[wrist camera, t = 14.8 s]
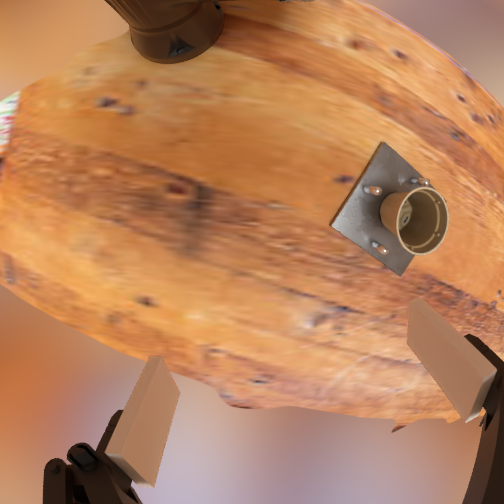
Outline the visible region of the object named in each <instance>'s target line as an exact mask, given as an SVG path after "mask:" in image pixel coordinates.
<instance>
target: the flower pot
mask: <svg viewBox="0 0 504 504" xmlns="http://www.w3.org/2000/svg"><path fill="white" fill-rule="evenodd" d="M405 201H406V202H405ZM404 202H405V203H404ZM380 215H381V221H382V223H383V225H384V226H385V227H386V228H387V229H388V230H390V231H391V232H392V233H393V234H394V235H396V236H397V237H398V239H399V241H400V243H401V245H402V246H403V247H404V249H406V250H407V251H408V252H410V253H411V254H414V255H419V256H421V255H427V254H429V253H431V252H433V251H434V250H436V249H437V248H438V247H439V246H440V244H441V243H442V242H443V240H444V238H445V236H446V233H447V229H448V224H449V212H448V208H447V204H446V202H445V200H444V198H443V197H442V195H441V194H440V193H439V192H438V191H436V190H435V189H433V188H430V187H418V188H416V189H413V190H412V191H410V192H402V193H392V194H390V195H388V196H387V197H386V198H385V199H384V201H383V202H382V205H381V208H380ZM406 217H408V218H407V220H406V222H405V223H404V221H405V219H406Z"/></svg>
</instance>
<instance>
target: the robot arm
mask: <svg viewBox="0 0 504 504" xmlns="http://www.w3.org/2000/svg"><path fill="white" fill-rule="evenodd" d="M105 1H106V2H107V3H108V4H109V5H110V6H111V7H112V8H113V9H114V10H115V11H116V12H117V13H118V14H119V15H120V16H121V17H122V18H123V19H124V20H125V21H126V22H127V23H128V24H129V27H130V32H131V40H132V43H133V45H134V47H135V48H136V49H137V50H138V51H139V52H140V53H141V54H142V55H143V56H144V57H145V58H147V59H149V60H151V61H154V62H157V63H166V64H169V63H178V62H183V61H186V60H189V59H191V58H194V57H196V56H198V55H200V54H201V53H203V52H204V51H206V50H207V49H208V48H210V47H211V46H212V45H213V44H214V43H215V41H216V40H217V39H218V37H219V36H220V34H221V32H222V29H223V26H224V15H223V10H222V7H221V5H220V3H219V1H233V0H105ZM277 1H279V2H288V1H303V2H310V1H314V0H277ZM407 344H408V346H409V347H410V348H411V349H412V351H413V352H414V353H415V355H416V356H417V357H418V358H419V360H420V361H421V362H422V364H423V365H424V366H425V368H426V369H427V370H428V372H429V373H430V374H431V376H432V377H433V378H434V380H435V381H436V382H437V384H438V385H439V386H440V388H441V389H442V390H443V392H444V393H445V395H446V396H447V397H448V399H449V400H450V402H451V403H452V404H453V406H454V407H455V409H456V410H457V412H458V413H459V414H460V416H461V417H462V419H463V420H464V422H465V423H467V422H468V421H470V420H471V419H473V418H475V417H477V416H478V415H479V413H480V411H481V409H482V407H484V409H485V410H486V413H485V415H484V417H483V419H482V421H481V423H480V425H479V426H482V424H483V427H482V433H481V439H480V443H479V448H478V453H477V457H476V461H475V465H474V468H473V472H472V476H471V479H470V482H469V486H468V489H467V492H466V494H465V498H464V500H463V503H462V504H504V362H503V361H502V360H501V359H500V358H499V357H498V356H497V355H496V354H495V353H494V352H493V351H492V350H491V349H489V347H488V346H487V345H485V344H484V343H483V342H482V341H481V340H480V339H479V338H478V337H476V336H473V335H471V334H467V335H465V336H463V335H462V334H461V333H459V332H458V331H457V330H456V329H455V328H454V327H453V326H452V325H451V324H450V323H449V322H447V321H446V320H445V319H444V318H443V317H442V316H441V315H440V314H439V313H437V312H436V311H435V310H434V309H433V308H432V307H431V306H430V305H428V304H427V303H426V302H425V301H424V300H423V299H421V298H418V299H415V300H412V301H409V309H408V333H407ZM179 395H180V391H179V389H178V387H177V385H176V383H175V381H174V380H173V378H172V375H171V374H170V371H169V369H168V367H167V365H166V363H165V361H164V359H163V357H162V356H154V357H149V359H148V361H147V363H146V365H145V367H144V369H143V371H142V373H141V375H140V377H139V379H138V381H137V383H136V385H135V387H134V390H133V392H132V394H131V396H130V398H129V400H128V402H127V404H126V406H125V409H124V410H118V411H117V412H116V413H115V414H114V415H113V416H112V417H111V419H110V421H109V424H108V426H107V428H106V430H105V432H104V434H103V436H102V438H101V440H100V442H99V444H98V447H97V449H96V451H94V450H93V449H92V447H91V446H90V445H89V444H87V443H78V444H75V445H74V446H72V447H71V448H70V449H69V451H68V453H67V460H68V461H69V462H71V463H72V464H71V465H67V464H66V463H65V462H64V461H63V460H62V459H59V458H54V459H52V460H50V461H49V462H48V463H47V464H46V466H45V469H44V482H43V504H142V502H141V500H140V499H139V497H138V496H137V494H136V492H135V490H134V489H133V488H132V487H131V482H132V480H133V481H134V482H135V483H136V484H137V485H138V486H143V487H150V488H154V486H155V482H156V478H157V474H158V471H159V467H160V463H161V459H162V456H163V451H164V448H165V445H166V441H167V437H168V434H169V430H170V426H171V423H172V419H173V416H174V412H175V409H176V405H177V402H178V398H179Z"/></svg>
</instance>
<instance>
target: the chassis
mask: <svg viewBox="0 0 504 504" xmlns="http://www.w3.org/2000/svg"><path fill="white" fill-rule="evenodd" d="M418 187H430V188H433V187H432V186H431V185H430V180H429V179H425V178H423V177H422V176H421V175H420V174H419V173H418V172H417V171H416V170H415V169H414V168H413V167H412V166H411V165H410V164H409V163H408V162H407V161H406V160H404V159H403V158H402V157H401V156H400V155H399V154H398V153H397V152H395V151H394V150H393V149H392V148H391V147H390V146H389V145H387V144H386V143H385V142H381V143H380V145H379V147H378V148H377V150H376V152H375V153H374V155H373V157H372V158H371V160H370V162H369V163H368V165H367V166H366V168H365V170H364V171H363V173H362V175H361V176H360V178H359V179H358V181H357V183H356V184H355V186H354V187H353V189H352V190H351V192H350V194H349V195H348V197H347V198H346V200H345V201H344V203H343V205H342V206H341V208H340V209H339V211H338V212H337V214H336V215H335V217H334V218H333V220H332V221H331V223H330V224H329V225H330V226H332V227H333V228H335V229H336V230H337V231H339V232H340V233H342V234H343V235H345V236H346V237H347V238H349V239H350V240H352V241H353V242H354V243H356V244H357V245H359V246H360V247H361V248H363V249H364V250H366V251H367V252H368V253H370V254H371V255H372V256H374V257H375V258H376V259H378V260H379V261H380V262H382V263H383V264H384V265H386V266H387V267H388V268H390V269H391V270H392V271H394V272H395V273H396V274H398V275H399V276H400V277H401V275H402V274H403V272H404V271H405V269H406V268H407V266H408V265H409V263H410V262H411V260H412V259H413V257H414V256H415V255H414V254H411V253H410V252H408V251H407V250H406V249H404V247H403V246H402V245H401V243H400V241H399V239H398V237H397V236H396V235H394V234H393V233H392V232H391V231H390V230H388V229H387V228H386V227H385V226H384V225H383V223H382V221H381V215H380V208H381V205H382V202H383V201H384V199H385V198H386V197H387V196H388V195H390V194H392V193H402V192H410V191H412V190H413V189H416V188H418ZM433 189H434V188H433ZM444 200H445V199H444ZM405 202H406V201H405ZM405 202H404V203H405ZM445 202H447V201H446V200H445ZM407 218H408V217H406V219H405V221H404V223H405V222H406V220H407Z"/></svg>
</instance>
